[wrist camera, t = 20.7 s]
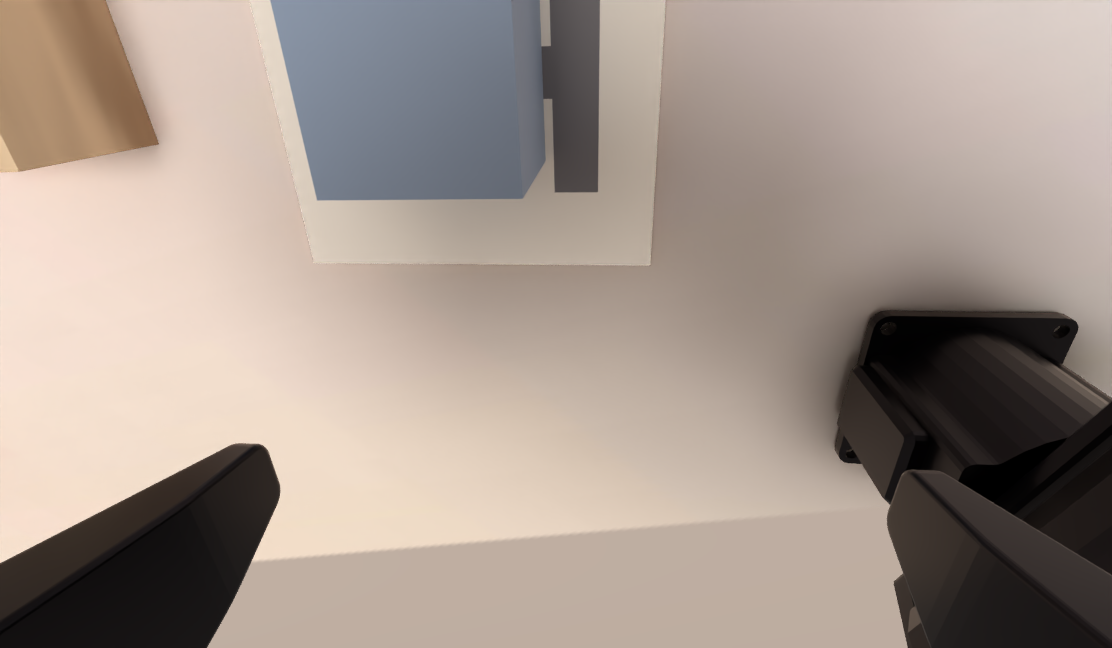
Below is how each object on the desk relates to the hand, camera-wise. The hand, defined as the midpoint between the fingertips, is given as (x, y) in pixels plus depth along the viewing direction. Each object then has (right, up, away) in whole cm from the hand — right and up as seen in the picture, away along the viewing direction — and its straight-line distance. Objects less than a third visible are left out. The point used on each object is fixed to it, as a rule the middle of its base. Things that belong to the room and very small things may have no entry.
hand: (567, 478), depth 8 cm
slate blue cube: (-3, +10, +8) cm, 13 cm away
